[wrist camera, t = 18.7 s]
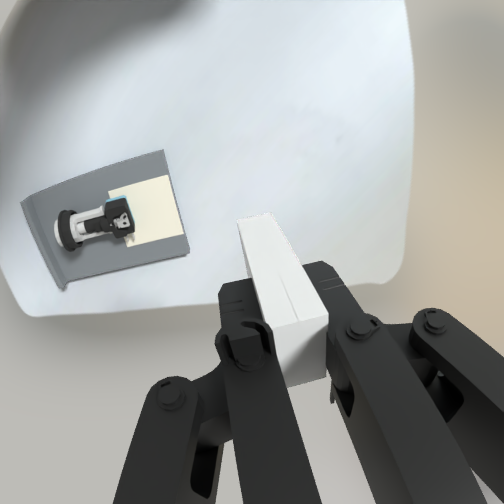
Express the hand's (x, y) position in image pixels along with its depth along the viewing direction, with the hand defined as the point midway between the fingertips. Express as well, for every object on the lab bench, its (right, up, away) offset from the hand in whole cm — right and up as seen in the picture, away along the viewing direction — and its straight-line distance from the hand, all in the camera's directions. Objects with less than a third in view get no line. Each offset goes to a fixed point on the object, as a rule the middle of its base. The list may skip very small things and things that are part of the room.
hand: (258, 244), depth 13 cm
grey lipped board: (-20, +4, +23) cm, 30 cm away
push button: (-15, +4, +20) cm, 25 cm away
